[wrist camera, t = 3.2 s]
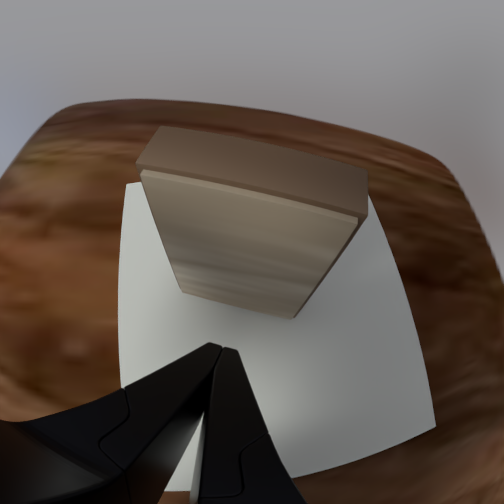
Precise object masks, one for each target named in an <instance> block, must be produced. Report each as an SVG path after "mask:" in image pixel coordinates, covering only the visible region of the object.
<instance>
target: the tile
mask: <svg viewBox="0 0 504 504" xmlns="http://www.w3.org/2000/svg"><path fill="white" fill-rule="evenodd" d="M135 164H136V167H137V170H138V173H139V177H140V180H141V183H142V186H143V189H144V192H145V195H146V198H147V201H148V204H149V207H150V210H151V213H152V216H153V219H154V222H155V224H156V227H157V230H158V233H159V236H160V238H161V241H162V244H163V246H164V249H165V252H166V254H167V257H168V260H169V262H170V265H171V267H172V270H173V273H174V275H175V278H176V280H177V283H178V285H179V288H180V289H181V291H182V293H186V294H190V295H193V296H197V297H201V298H204V299H208V300H212V301H215V302H219V303H223V304H227V305H231V306H235V307H239V308H243V309H247V310H251V311H255V312H259V313H263V314H267V315H271V316H276V317H280V318H284V319H289V320H291V319H292V318H295V317H296V316H297V314H298V313H299V312H300V311H301V309H302V308H303V307H304V305H305V304H306V303H307V301H308V300H309V299H310V297H311V296H312V295H313V293H314V292H315V291H316V289H317V288H318V287H319V285H320V284H321V283H322V281H323V280H324V278H325V277H326V276H327V274H328V273H329V272H330V270H331V269H332V267H333V266H334V265H335V263H336V262H337V260H338V259H339V258H340V256H341V255H342V253H343V252H344V250H345V249H346V248H347V246H348V245H349V243H350V242H351V240H352V239H353V237H354V236H355V234H356V233H357V231H358V230H359V228H360V227H361V225H362V224H363V223H364V221H365V219H366V218H367V216H368V171H367V170H365V169H362V168H359V167H356V166H352V165H349V164H346V163H342V162H339V161H335V160H332V159H328V158H324V157H321V156H317V155H313V154H309V153H305V152H301V151H297V150H293V149H289V148H285V147H281V146H276V145H272V144H267V143H262V142H258V141H253V140H248V139H243V138H238V137H232V136H227V135H221V134H215V133H209V132H203V131H196V130H189V129H182V128H175V127H167V126H160V127H159V129H158V130H157V131H156V133H155V134H154V136H153V137H152V139H151V140H150V142H149V143H148V145H147V146H146V147H145V149H144V150H143V152H142V154H141V155H140V157H139V158H138V160H137V161H136V163H135Z"/></svg>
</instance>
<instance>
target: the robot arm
mask: <svg viewBox="0 0 504 504" xmlns="http://www.w3.org/2000/svg"><path fill="white" fill-rule="evenodd" d="M203 413H204V414H203ZM202 416H203V419H202ZM201 419H202V424H201V430H200V436H199V442H198V448H197V454H196V460H195V466H194V472H193V479H192V485H191V492H190V498H189V504H308V503H307V502H306V500H305V499H304V497H303V496H302V494H301V493H300V491H299V490H298V488H297V486H296V485H295V483H294V482H293V480H292V479H291V477H290V475H289V473H288V472H287V470H286V468H285V466H284V465H283V463H282V461H281V459H280V457H279V455H278V452H277V450H276V448H275V446H274V443H273V441H272V438H271V436H270V434H268V433H269V431H268V429H267V426H266V424H265V421H264V419H263V416H262V413H261V411H260V408H259V406H258V403H257V400H256V398H255V395H254V392H253V390H252V387H251V384H250V382H249V379H248V376H247V374H246V371H245V368H244V365H243V363H242V360H241V357H240V354H239V352H238V350H236V349H233V348H229V347H222V346H221V345H218V344H215V343H212V342H208V343H206V344H204V345H202V346H200V347H199V348H197V349H195V350H193V351H191V352H190V353H188V354H186V355H184V356H182V357H180V358H179V359H177V360H175V361H173V362H171V363H169V364H167V365H166V366H164V367H162V368H160V369H158V370H156V371H154V372H152V373H150V374H148V375H146V376H145V377H143V378H141V379H139V380H137V381H135V382H133V383H131V384H129V385H127V386H125V387H124V388H121V389H119V390H117V391H115V392H113V393H110V394H108V395H106V396H104V397H101V398H99V399H97V400H95V401H92V402H89V403H86V404H83V405H81V406H78V407H75V408H72V409H68V410H65V411H62V412H59V413H55V414H52V415H48V416H45V417H41V418H38V419H34V420H29V421H23V422H10V421H3V420H0V504H157V503H158V502H159V500H160V498H161V496H162V494H163V492H164V490H165V489H166V487H167V485H168V483H169V481H170V479H171V477H172V475H173V473H174V472H175V470H176V468H177V466H178V464H179V462H180V460H181V458H182V456H183V454H184V452H185V450H186V448H187V447H188V445H189V443H190V441H191V439H192V437H193V435H194V433H195V431H196V429H197V427H198V425H199V423H200V421H201Z"/></svg>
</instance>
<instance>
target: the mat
mask: <svg viewBox="0 0 504 504" xmlns="http://www.w3.org/2000/svg"><path fill="white" fill-rule="evenodd" d="M118 336H119V360H120V376H121V388H124V387H125V386H127V385H129V384H131V383H133V382H135V381H137V380H139V379H141V378H143V377H145V376H146V375H148V374H150V373H152V372H154V371H156V370H158V369H160V368H162V367H164V366H166V365H167V364H169V363H171V362H173V361H175V360H177V359H179V358H180V357H182V356H184V355H186V354H188V353H190V352H191V351H193V350H195V349H197V348H199V347H200V346H202V345H204V344H206V343H208V342H212V343H215V344H218V345H221V346H222V347H229V348H233V349H236V350H238V352H239V354H240V357H241V360H242V363H243V365H244V368H245V371H246V374H247V376H248V379H249V382H250V384H251V387H252V390H253V392H254V395H255V398H256V400H257V403H258V406H259V408H260V411H261V413H262V416H263V419H264V421H265V424H266V426H267V429H268V431H269V433H268V434H270V436H271V438H272V441H273V443H274V446H275V448H276V450H277V452H278V455H279V457H280V459H281V461H282V463H283V465H284V466H285V468H286V470H287V472H288V473H289V475H290V477H291V478H295V477H299V476H303V475H308V474H312V473H316V472H319V471H323V470H327V469H330V468H334V467H337V466H340V465H343V464H347V463H350V462H353V461H356V460H359V459H362V458H364V457H367V456H370V455H373V454H375V453H378V452H380V451H383V450H385V449H388V448H390V447H393V446H395V445H398V444H400V443H402V442H404V441H407V440H409V439H411V438H413V437H415V436H417V435H420V434H422V433H424V432H426V431H428V430H430V429H432V428H434V427H436V424H435V418H434V411H433V405H432V399H431V393H430V388H429V383H428V378H427V373H426V368H425V364H424V360H423V355H422V351H421V347H420V343H419V339H418V335H417V331H416V327H415V324H414V320H413V317H412V313H411V310H410V306H409V303H408V300H407V296H406V293H405V290H404V287H403V284H402V281H401V278H400V275H399V272H398V269H397V266H396V263H395V260H394V258H393V255H392V252H391V249H390V247H389V244H388V241H387V239H386V236H385V233H384V231H383V228H382V226H381V223H380V221H379V218H378V216H377V214H376V211H375V209H374V206H373V204H372V202H371V199H370V197H369V195H368V216H367V218H366V219H365V221H364V223H363V224H362V225H361V227H360V228H359V230H358V231H357V233H356V234H355V236H354V237H353V239H352V240H351V242H350V243H349V245H348V246H347V248H346V249H345V250H344V252H343V253H342V255H341V256H340V258H339V259H338V260H337V262H336V263H335V265H334V266H333V267H332V269H331V270H330V272H329V273H328V274H327V276H326V277H325V278H324V280H323V281H322V283H321V284H320V285H319V287H318V288H317V289H316V291H315V292H314V293H313V295H312V296H311V297H310V299H309V300H308V301H307V303H306V304H305V305H304V307H303V308H302V309H301V311H300V312H299V313H298V314H297V316H296V317H295V318H292V319H291V320H289V319H284V318H280V317H276V316H271V315H267V314H263V313H259V312H255V311H251V310H247V309H243V308H239V307H235V306H231V305H227V304H223V303H219V302H215V301H212V300H208V299H204V298H201V297H197V296H193V295H190V294H186V293H182V291H181V289H180V288H179V285H178V283H177V280H176V278H175V275H174V273H173V270H172V267H171V265H170V262H169V260H168V257H167V254H166V252H165V249H164V246H163V244H162V241H161V238H160V236H159V233H158V230H157V227H156V224H155V222H154V219H153V216H152V213H151V210H150V207H149V204H148V201H147V198H146V195H145V192H144V189H143V186H142V183H141V182H138V183H131V184H127V185H126V193H125V201H124V210H123V220H122V231H121V244H120V260H119V284H118ZM203 414H204V413H203ZM202 419H203V416H202ZM202 419H201V421H200V423H199V425H198V427H197V429H196V431H195V433H194V435H193V437H192V439H191V441H190V443H189V445H188V447H187V448H186V450H185V452H184V454H183V456H182V458H181V460H180V462H179V464H178V466H177V468H176V470H175V472H174V473H173V475H172V477H171V479H170V481H169V483H168V485H167V487H166V489H165V490H164V491H191V485H192V479H193V472H194V466H195V460H196V454H197V448H198V442H199V436H200V430H201V424H202Z"/></svg>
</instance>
